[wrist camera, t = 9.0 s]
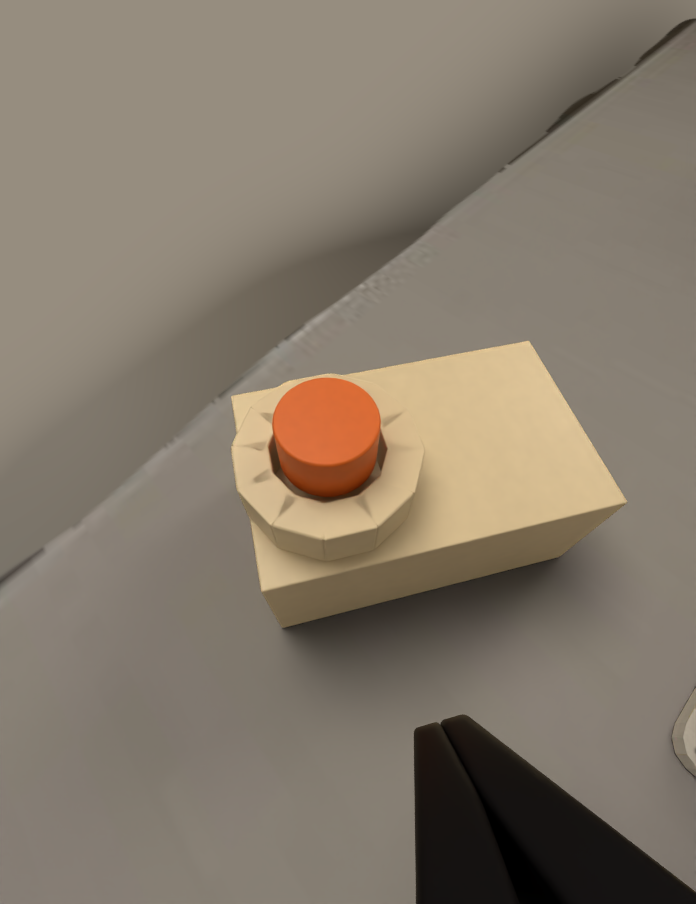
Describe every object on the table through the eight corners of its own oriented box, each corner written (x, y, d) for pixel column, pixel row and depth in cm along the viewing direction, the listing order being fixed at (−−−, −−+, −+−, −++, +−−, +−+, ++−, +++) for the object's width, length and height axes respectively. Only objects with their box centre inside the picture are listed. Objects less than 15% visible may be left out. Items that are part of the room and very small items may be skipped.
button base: (560, 556, 22) (662, 475, 15) (280, 629, 20) (248, 574, 13) (491, 418, 26) (546, 303, 19) (253, 468, 24) (218, 361, 17)
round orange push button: (388, 485, 15) (394, 452, 13) (289, 508, 14) (281, 477, 13) (362, 406, 16) (364, 368, 15) (272, 424, 16) (263, 386, 14)
